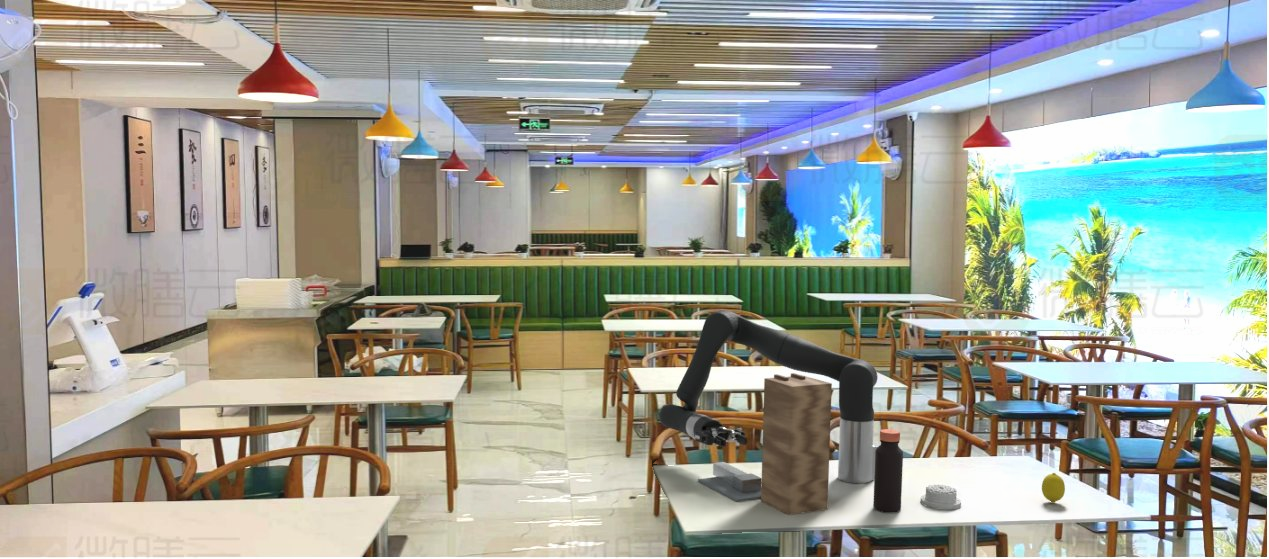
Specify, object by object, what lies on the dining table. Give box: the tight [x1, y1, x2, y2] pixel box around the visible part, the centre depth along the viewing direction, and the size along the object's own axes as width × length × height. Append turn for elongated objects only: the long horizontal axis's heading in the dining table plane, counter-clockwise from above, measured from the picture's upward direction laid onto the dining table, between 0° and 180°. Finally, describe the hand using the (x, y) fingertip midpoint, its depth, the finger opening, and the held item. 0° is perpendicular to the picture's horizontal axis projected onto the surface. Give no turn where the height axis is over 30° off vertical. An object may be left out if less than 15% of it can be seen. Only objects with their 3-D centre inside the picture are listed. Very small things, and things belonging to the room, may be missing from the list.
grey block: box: [712, 461, 762, 493], centre depth 261 cm, size 6×18×3 cm, turn 24°
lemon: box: [1041, 472, 1066, 503], centre depth 250 cm, size 6×6×8 cm
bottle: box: [872, 428, 904, 514], centre depth 242 cm, size 7×7×20 cm
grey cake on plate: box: [920, 484, 962, 511], centre depth 248 cm, size 10×4×10 cm
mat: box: [697, 476, 761, 503], centre depth 258 cm, size 12×20×1 cm, turn 26°
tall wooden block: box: [760, 372, 833, 516], centre depth 243 cm, size 12×12×33 cm
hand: (735, 442), depth 260 cm, fingers open, 6 cm apart
